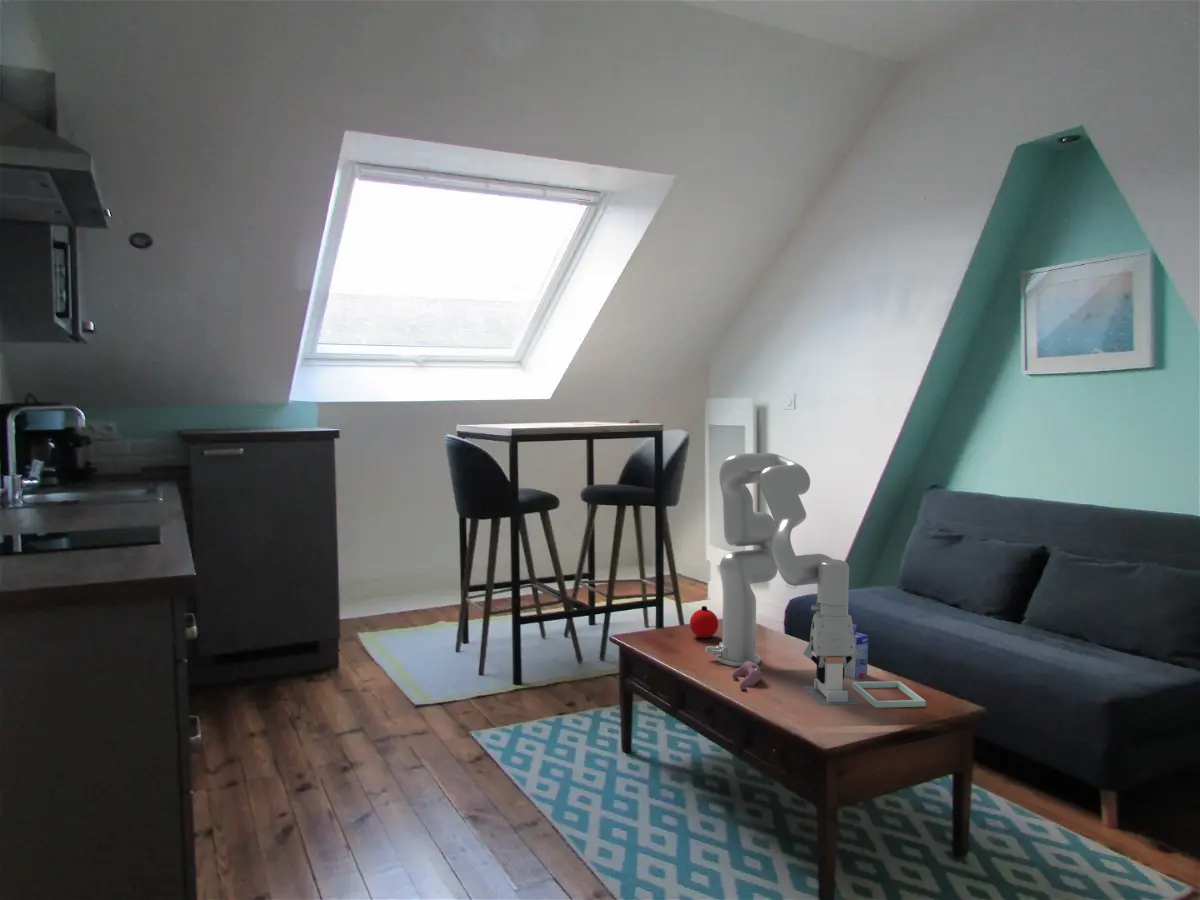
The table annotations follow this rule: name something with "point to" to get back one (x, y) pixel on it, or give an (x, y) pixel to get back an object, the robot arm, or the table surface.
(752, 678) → the video game controller
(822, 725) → the table surface
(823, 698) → the block
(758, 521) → the robot arm
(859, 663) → the ink cartridge box
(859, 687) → the tray
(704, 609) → the ornament
